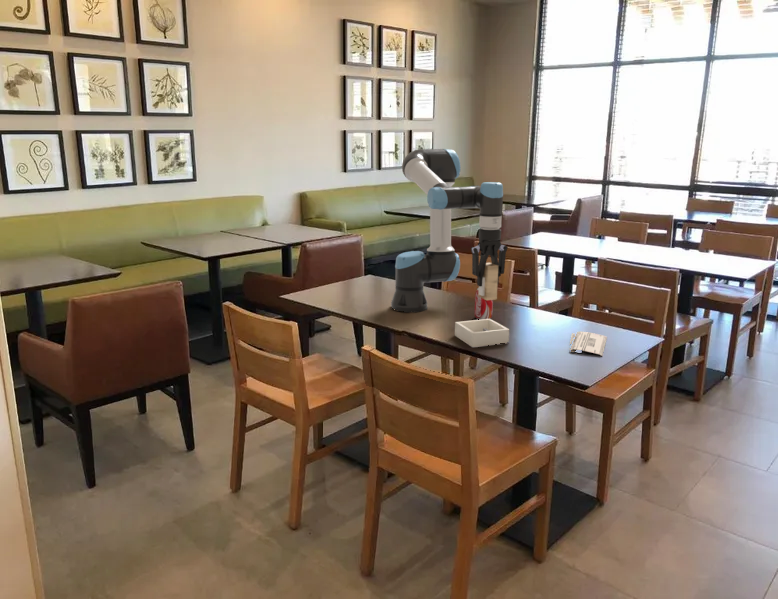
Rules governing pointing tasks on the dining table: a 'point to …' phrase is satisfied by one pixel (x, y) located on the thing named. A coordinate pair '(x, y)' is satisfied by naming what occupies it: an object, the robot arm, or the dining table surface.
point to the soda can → (483, 307)
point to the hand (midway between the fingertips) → (487, 294)
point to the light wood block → (490, 282)
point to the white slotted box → (481, 332)
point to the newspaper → (588, 342)
